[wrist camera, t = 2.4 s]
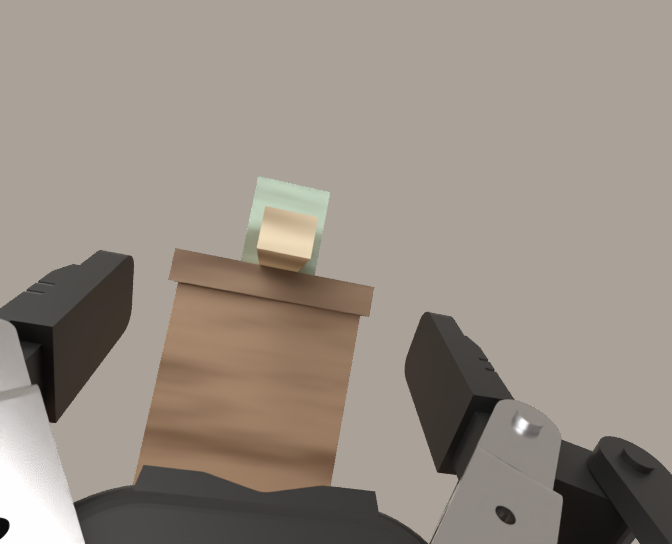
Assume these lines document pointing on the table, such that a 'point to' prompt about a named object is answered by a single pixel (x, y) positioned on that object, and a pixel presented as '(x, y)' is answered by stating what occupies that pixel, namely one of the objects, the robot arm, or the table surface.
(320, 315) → the tool tower
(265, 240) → the mint and tan block
